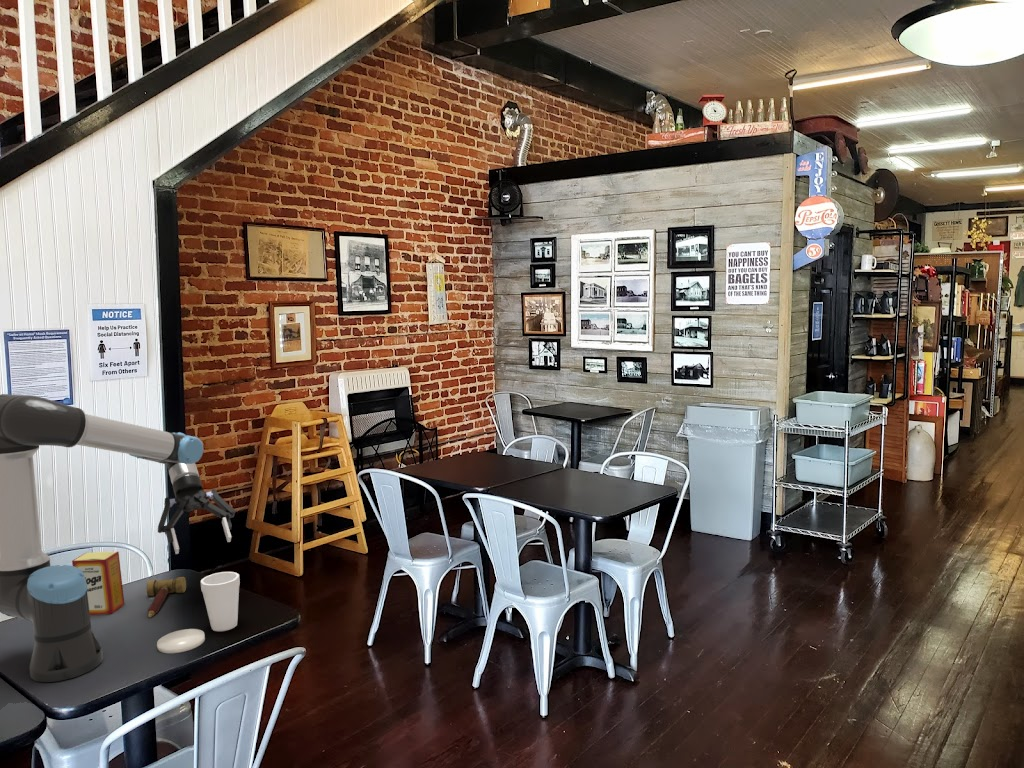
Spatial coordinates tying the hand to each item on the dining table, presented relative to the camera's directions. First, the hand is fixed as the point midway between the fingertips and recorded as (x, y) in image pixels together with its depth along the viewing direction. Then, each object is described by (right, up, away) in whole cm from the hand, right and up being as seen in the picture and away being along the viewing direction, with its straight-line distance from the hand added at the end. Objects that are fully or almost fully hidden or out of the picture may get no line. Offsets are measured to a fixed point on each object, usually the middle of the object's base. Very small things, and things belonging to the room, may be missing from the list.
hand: (204, 545), depth 212 cm
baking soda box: (-31, -20, +7) cm, 37 cm away
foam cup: (+9, -20, -8) cm, 23 cm away
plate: (+1, -21, -17) cm, 27 cm away
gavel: (-16, -19, +9) cm, 26 cm away
